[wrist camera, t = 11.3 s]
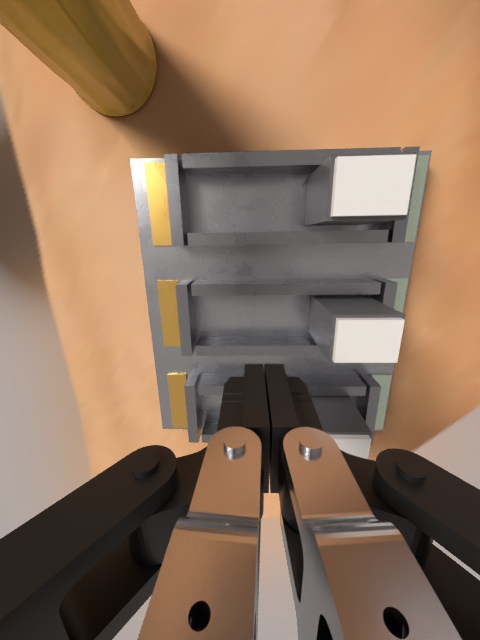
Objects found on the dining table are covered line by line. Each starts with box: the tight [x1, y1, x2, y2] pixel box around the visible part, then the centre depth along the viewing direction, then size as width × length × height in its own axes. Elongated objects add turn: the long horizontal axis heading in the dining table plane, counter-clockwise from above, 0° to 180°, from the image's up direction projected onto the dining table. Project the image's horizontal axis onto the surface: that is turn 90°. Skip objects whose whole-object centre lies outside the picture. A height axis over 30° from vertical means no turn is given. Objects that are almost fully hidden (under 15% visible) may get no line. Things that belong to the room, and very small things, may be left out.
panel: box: [130, 147, 431, 444], centre depth 21 cm, size 22×20×4 cm
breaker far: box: [310, 395, 372, 459], centre depth 20 cm, size 3×4×6 cm
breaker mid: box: [309, 294, 405, 363], centre depth 18 cm, size 3×4×6 cm
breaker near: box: [305, 152, 417, 226], centre depth 15 cm, size 3×4×6 cm
